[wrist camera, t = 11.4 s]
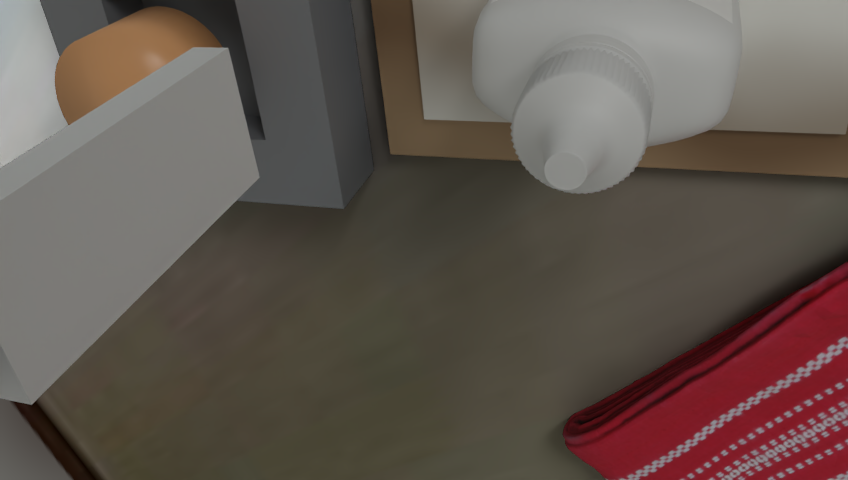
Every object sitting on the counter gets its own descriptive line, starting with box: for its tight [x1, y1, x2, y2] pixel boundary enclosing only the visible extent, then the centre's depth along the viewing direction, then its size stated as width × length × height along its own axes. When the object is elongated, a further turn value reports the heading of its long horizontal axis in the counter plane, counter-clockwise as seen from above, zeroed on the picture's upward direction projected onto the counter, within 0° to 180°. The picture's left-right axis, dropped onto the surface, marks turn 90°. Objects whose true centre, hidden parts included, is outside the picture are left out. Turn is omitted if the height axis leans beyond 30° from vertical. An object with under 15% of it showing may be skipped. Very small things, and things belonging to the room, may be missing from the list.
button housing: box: [40, 0, 374, 209], centre depth 27 cm, size 10×10×3 cm
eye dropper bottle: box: [472, 0, 743, 194], centre depth 17 cm, size 4×6×12 cm
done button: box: [55, 6, 223, 125], centre depth 24 cm, size 4×4×3 cm
